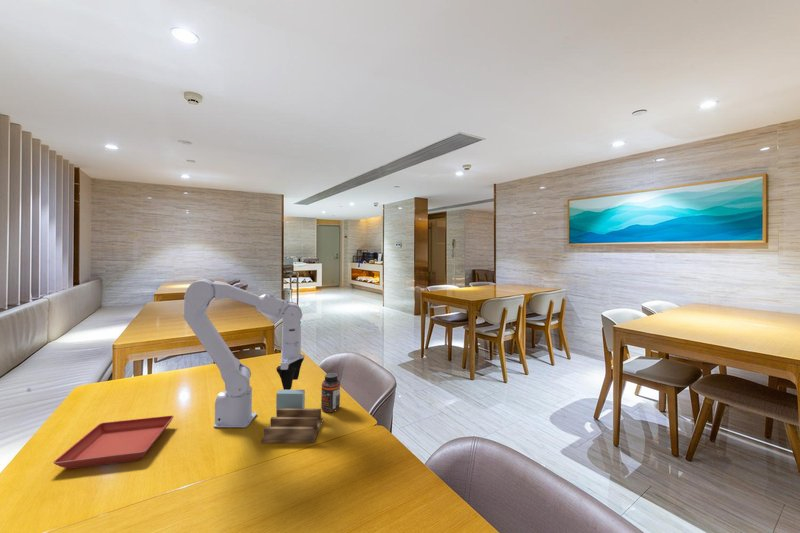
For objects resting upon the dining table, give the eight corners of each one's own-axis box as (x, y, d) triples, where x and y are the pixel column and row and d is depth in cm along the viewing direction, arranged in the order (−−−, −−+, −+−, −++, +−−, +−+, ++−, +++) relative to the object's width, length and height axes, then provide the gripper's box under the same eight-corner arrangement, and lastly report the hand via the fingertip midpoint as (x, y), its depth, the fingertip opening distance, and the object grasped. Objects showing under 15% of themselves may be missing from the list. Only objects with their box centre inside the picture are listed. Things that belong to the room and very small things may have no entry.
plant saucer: (51, 476, 74) (50, 462, 74) (100, 433, 91) (100, 422, 91) (145, 464, 79) (145, 451, 79) (175, 426, 96) (174, 414, 96)
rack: (261, 443, 88) (261, 429, 88) (276, 420, 100) (276, 408, 100) (314, 443, 89) (314, 429, 88) (322, 420, 100) (323, 408, 100)
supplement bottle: (317, 410, 107) (317, 375, 106) (329, 403, 112) (329, 370, 112) (331, 414, 104) (332, 379, 103) (343, 407, 109) (343, 373, 109)
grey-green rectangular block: (276, 415, 103) (276, 393, 103) (279, 410, 106) (279, 389, 106) (302, 415, 103) (302, 393, 103) (304, 411, 106) (304, 389, 106)
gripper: (298, 348, 96) (297, 394, 97) (309, 335, 111) (309, 375, 112) (273, 348, 96) (273, 393, 97) (288, 335, 111) (288, 375, 111)
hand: (290, 384), depth 104 cm, fingers open, 7 cm apart
